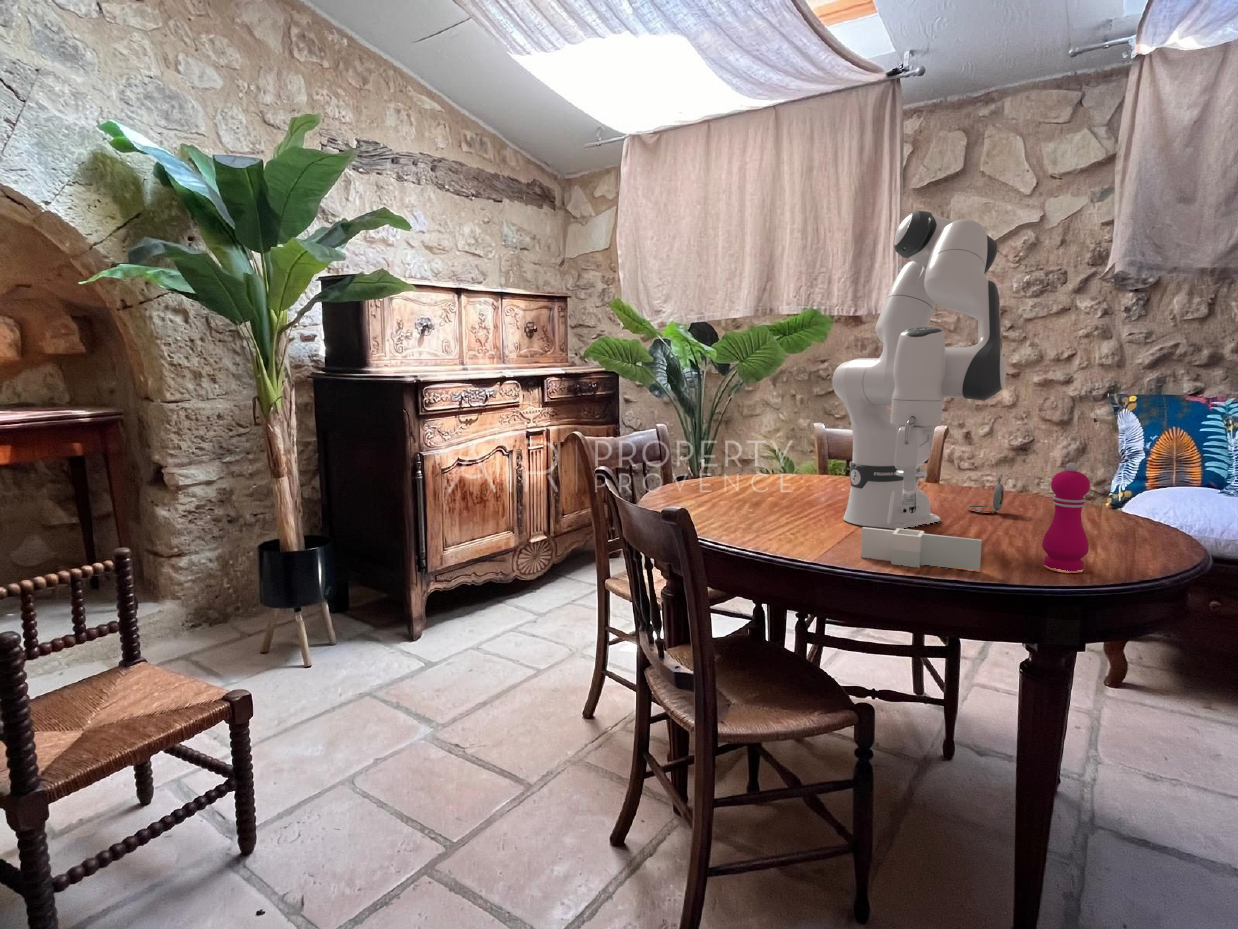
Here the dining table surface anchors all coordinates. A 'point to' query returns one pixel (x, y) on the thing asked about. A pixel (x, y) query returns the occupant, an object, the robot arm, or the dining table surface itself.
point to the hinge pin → (911, 496)
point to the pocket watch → (995, 498)
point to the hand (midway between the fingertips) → (911, 488)
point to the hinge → (920, 548)
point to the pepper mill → (1067, 521)
